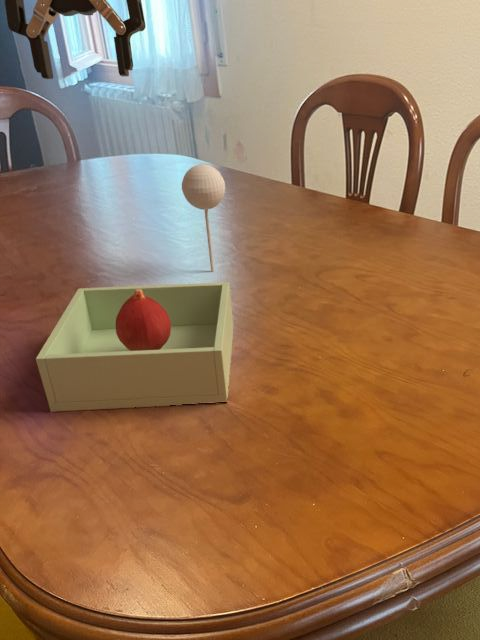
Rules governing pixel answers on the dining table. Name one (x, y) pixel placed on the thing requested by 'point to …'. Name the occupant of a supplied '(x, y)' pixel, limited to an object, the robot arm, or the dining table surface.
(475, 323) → the dining table surface
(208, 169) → the lollipop
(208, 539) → the dining table surface
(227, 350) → the bin
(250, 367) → the dining table surface
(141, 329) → the red kuri squash
